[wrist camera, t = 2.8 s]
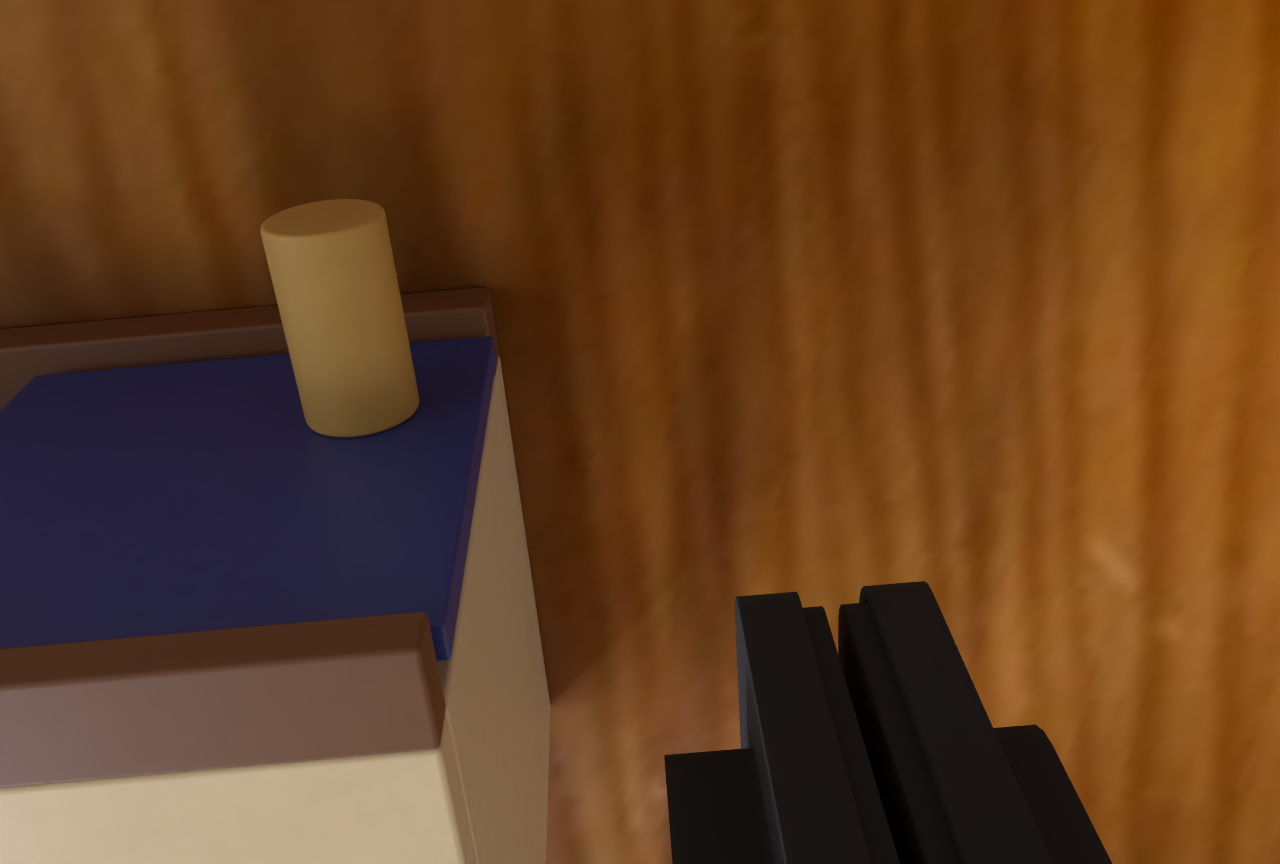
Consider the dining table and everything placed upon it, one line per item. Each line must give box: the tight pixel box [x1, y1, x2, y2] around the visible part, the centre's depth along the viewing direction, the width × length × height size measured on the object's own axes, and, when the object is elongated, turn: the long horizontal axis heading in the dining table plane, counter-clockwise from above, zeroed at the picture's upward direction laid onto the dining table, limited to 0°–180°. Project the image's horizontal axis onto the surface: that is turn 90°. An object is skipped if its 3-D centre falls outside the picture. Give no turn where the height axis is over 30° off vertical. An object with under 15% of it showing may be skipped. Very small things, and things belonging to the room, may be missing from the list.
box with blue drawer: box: [0, 287, 551, 864], centre depth 22 cm, size 12×18×12 cm, turn 94°
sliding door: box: [0, 199, 496, 661], centre depth 18 cm, size 4×9×9 cm, turn 94°
